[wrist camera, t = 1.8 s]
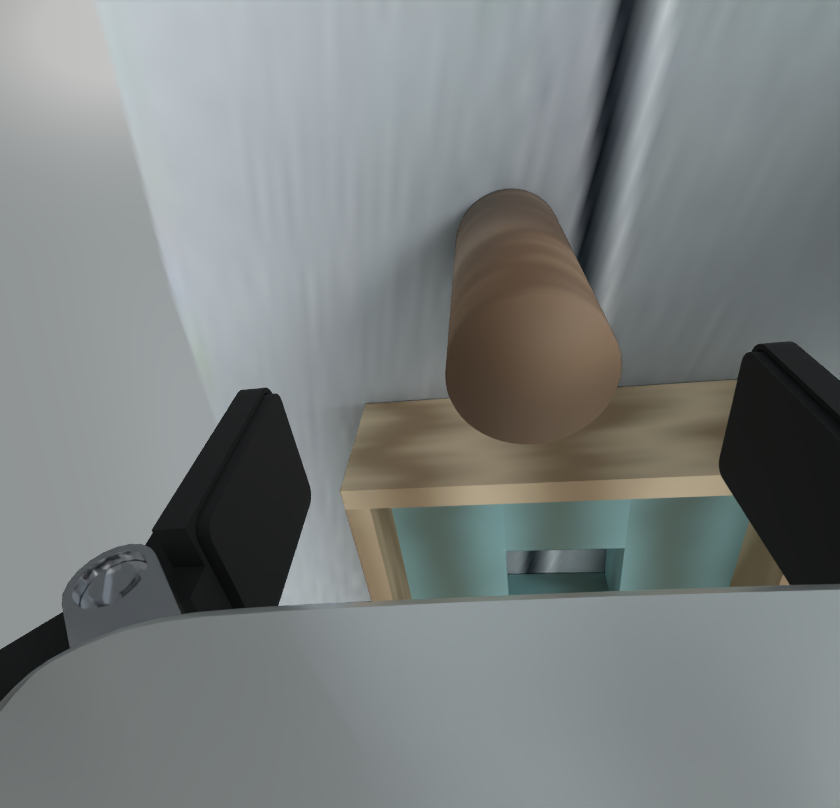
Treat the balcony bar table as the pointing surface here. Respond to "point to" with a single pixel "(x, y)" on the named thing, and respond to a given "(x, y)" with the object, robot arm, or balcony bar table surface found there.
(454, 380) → the peg
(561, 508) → the box
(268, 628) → the robot arm
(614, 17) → the balcony bar table surface
